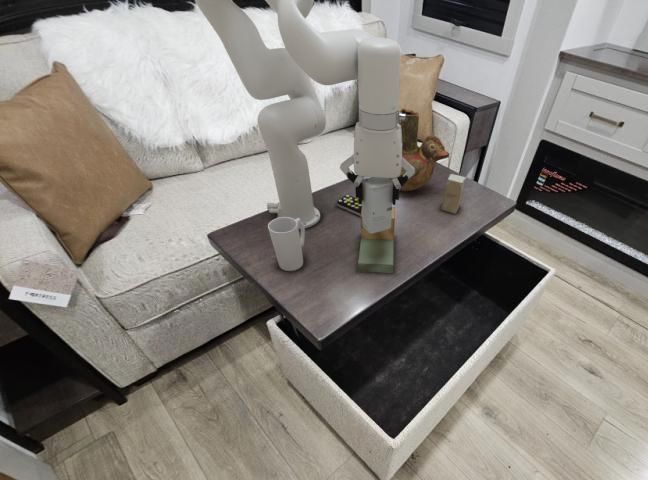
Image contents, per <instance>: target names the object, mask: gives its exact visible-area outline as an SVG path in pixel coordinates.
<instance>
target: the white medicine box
mask: <svg viewBox="0 0 648 480" xmlns="http://www.w3.org/2000/svg"><path fill="white" fill-rule="evenodd" d="M392 199H393V181H392V180H390V179H389V178H379V177H365V178H363V179H362V218H363V219H362V220H363V227H364V228H365V229H366V230H367V231H368V232H369V233H370V234H372V233H376V232H380V231H383V230H386V229H389V228H391V217H392V207H393V204H392Z"/></svg>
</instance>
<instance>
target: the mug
mask: <svg viewBox="0 0 648 480" xmlns="http://www.w3.org/2000/svg"><path fill="white" fill-rule="evenodd" d="M298 226H299V227H300V229H298ZM267 228H268V233H269V236H270V239H271V243H272V246H273V250H274V253H275V257H276V260H277V264H278V267H279V268H280V269H281V270H283V271H287V272H293V271H296V270H299V269H301V267H303V265H304V255H303V251H302V250H303V249H302V247H304V246H305V239H306V228H304V225H303V223H302V222H301V220H300V218H297V219H296V220H295V219H293V218H290V217H280V218H277V217H276V218H274V219H272V220H270V221H269V222H268V224H267Z"/></svg>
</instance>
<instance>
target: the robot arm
mask: <svg viewBox="0 0 648 480" xmlns="http://www.w3.org/2000/svg"><path fill="white" fill-rule="evenodd" d="M194 1H195V3H196V5H197V7H198V8H199V10H200V12H201V13H202V15H203V16H204V17H205V19H206V20H207V21H208V23H209V24H210V26H211V27H212V29H213V30H214V31H215V33H216V35H217V36H218V37H219V39H220V42H221V43H222V45H223V47H224V49H225V51H226V53H227V55H228V57H229V59H230V61H231V63H232V65H233V67H234V69H235V71H236V73H237V75H238V77H239V79H240V81H241V83H242V84H243V87H244V88H245V90H246V92H247V93H248V94H249V95H250V96H251V98H253V99H254V100H258V101H265V100H271V99H276V98H279V97H283V96H284V97H285V96H288V98H289V99H285V100H281V101H277V102H274V103H271V104H268V105H266V106H264V107H263V108H262V109H261V110H260V111H259V113H258V115H257V126H258V130H259V132H260V135H261V138H262V140H263V142H264V144H265V148H266V150H267V154H268V158H269V161H270V165H271V170H272V174H273V178H274V179H273V180H274V183H275V187H276V191H277V197H278V201H279V202H277V203H276V202H275V203H274V202H266V208H267V210H268V212H269V214H277V217H276V218H280V217H290V218H293V219H295V220H296V219H297V218H300V220H301V222H302V223H303V225H304V228H305V229H308V228H311V227H313V226H314V225H316V224H318V222H320V219H321V212H320V210H319V209H318V208H317V207H315V205H314V198H313V192H312V191H313V189H312V182H311V176H310V169H309V163H308V159H307V156H306V155H305V153H303V151H302V150H301V149H300V148H299V146H298V145H299V144H300V143H301V142H304V141H306V140H310V139H312V138H315V137H318V136H320V135H322V134H323V132H324V131H325V129H326V126H327V118H326V114H325V110H324V107H323V105H322V103H321V100H320V98H319V95H318V93H317V91H316V88H315V86H314V83H313V82H312V80H313V81H314V82H315V83H317V84H319V85H322V86H333V85H337V84H341V83H345V82H350V81H356V80H357V87H358V91H357V92H358V93H357V94H358V121H357V122H356V123H355V127H354V136H353V137H354V138H353V154H351V155H350V156H349V157H347V159H346V160H344V161H343V162H342V163H340V164H339V165H340V166H339V169H340V171H341V172H342V173H343V174H344V175H345V176H346V178H347V179H348V180H349V181H350V182H351V183H352V184H353V186H354V188H355V189H354V190H355V198H357V199H359V203H362V179H364V178H370V177H379V178H391V179H392V181H393V183H394V184H393V199H392V206H396V203H397V202H396V201H399V200H400V190H399V189H400V188H401V186H402V185H403V184H405V183H406V182H407V181H408V179H409V178H411V177H412V176H413V175H414V174H415V168H414V167H413V166H412V165H411V164H409V163H408V162H407V161H406V160H405V159H404V158H403V157H402V131H401V125H399V122H401V121H405V114H402V113H400V110H399V104H400V87H401V86H400V83H401V66H402V48H401V46H400V44H399V43H398V41H396V40H394V39H391V38H387V37H382V36H381V37H379V36H375V35H373V34H371V33H369V32H367V31H365V30H362V29H359V28H352V29H342V30H341V29H340V30H332V31H324V32H320V31H318V30H317V29H316V28H315V27H314V26H313V25H312V24H311V23H310V21H308V20H307V17H308V16H309V15H310V13H311V11H312V8H313V6H314V3H315V0H264V1H265V2H266V3H267V4H268V5H269V6H270V8H271V9H272V10H273V11H274V12H275V13H276V14H277V26H278V31H279V34H280V38H281V40H282V43H283V46H284V47H277V48H269V47H267V45H266V44H265V42H264V40H263V38H262V36H261V34H260V32H259V29H258V27H257V26H256V24H255V23H254V21H253V19H251V18H250V16H249V15H248V14H247V13H246V12H245V11H244V10H243V9H242V8H241V7H240V6H238V5H237V4H236V3H235V2H234V1H233V0H194ZM351 166H353V170H351V169H350V167H351ZM401 167H403V168H404V169H405V170H406V173H405V174H403V175H402V176H401V177H399V176H400V174H401ZM298 230H301V229H300V227H299V226H298Z"/></svg>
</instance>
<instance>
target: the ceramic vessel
mask: <svg viewBox="0 0 648 480" xmlns="http://www.w3.org/2000/svg"><path fill="white" fill-rule="evenodd" d="M399 111H400V113H402V114H405V121H401V122H399V123H398V124H399V125H401V131H402V157H403V158H404V159H405V160H406V161H407V162H408V163H409V164H411V165H412V166H413V167H414V168H415V174H414V175H413V176H412V177H411V178H409V179H408V181H407V182H406V183H405V184H403V185H402V186H401V188H400V189H399V191H402V192H408V191H409V192H411V191H415V190H418V189H420V188H423V187H424V186H425V185H426V184H427V183H429V181H431V178H432V177H433V174H434V169H435V165H436V162H438V161H441V160H445V159H447V158H450V156H451V155H450V152H449V151H447V150H446V149H445V145H444V144H443V143H442V141H441V139H440V138H439V137H438V136H436V135H428V136H426V137H425V138H424V140H423V141H422V142H421V144H420V146H419V145H418V139H419V137H418V135H419V122H420V114H419V112H417V111H414V110H412V109H407V108H404V107H403V108H401V109H400V110H399ZM405 173H406V170H405V169H404V168H403V167H401V174H400V176H399V177H401V176H402V175H403V174H405ZM389 179H390V180H392V179H391V178H389ZM393 184H394V183H393Z"/></svg>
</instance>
